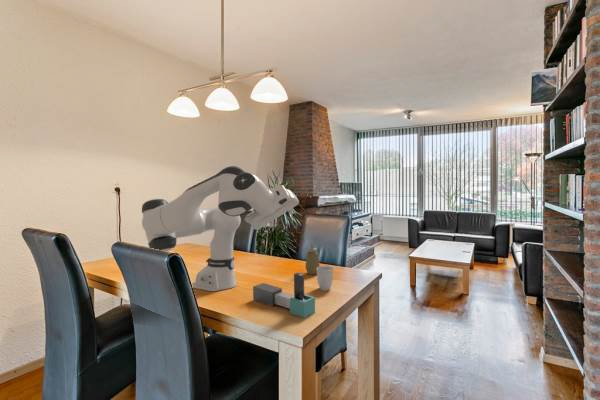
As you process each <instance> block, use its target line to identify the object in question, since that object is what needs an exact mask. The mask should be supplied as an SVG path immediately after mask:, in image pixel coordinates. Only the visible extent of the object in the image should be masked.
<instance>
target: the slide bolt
mask: <svg viewBox="0 0 600 400" xmlns="http://www.w3.org/2000/svg"><path fill="white" fill-rule="evenodd" d="M304 294H305V274H304V273H303V272H296V273H293V294H291V293H287V292H284V291H282V292H281V291H278V292H275V293H273V303H274V304H277V306H281V307H284V308H285V309H286V308H287V309H289V310H290V298H295V299H298V300H301V301H306V300H308V299H305V298H304Z"/></svg>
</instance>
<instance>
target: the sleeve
mask: <svg viewBox="0 0 600 400" xmlns="http://www.w3.org/2000/svg"><path fill="white" fill-rule="evenodd" d="M278 291H281V292H283V288H282V287H278V286H275V285H273V284H268V283H265V282H262V283H258V284H256V285H253V286H252V296H253V297H252V299H253V301H255V302H258V303H261V304H263V305H267V306H270V307H274V306H276V305H277V304H274V303H273V293H275V292H278ZM277 306H278V305H277Z"/></svg>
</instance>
